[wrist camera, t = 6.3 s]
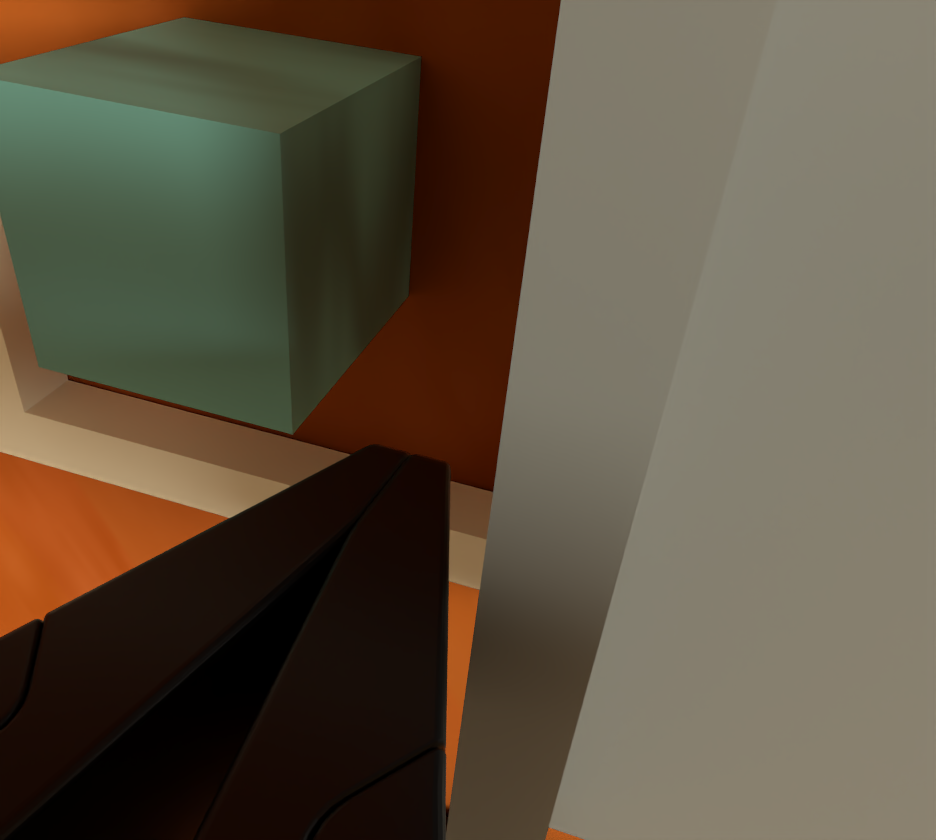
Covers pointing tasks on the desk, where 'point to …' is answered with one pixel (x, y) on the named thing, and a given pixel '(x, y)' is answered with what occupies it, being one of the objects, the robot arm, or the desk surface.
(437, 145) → the desk surface
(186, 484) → the white flat frame
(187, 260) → the block
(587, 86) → the cover
